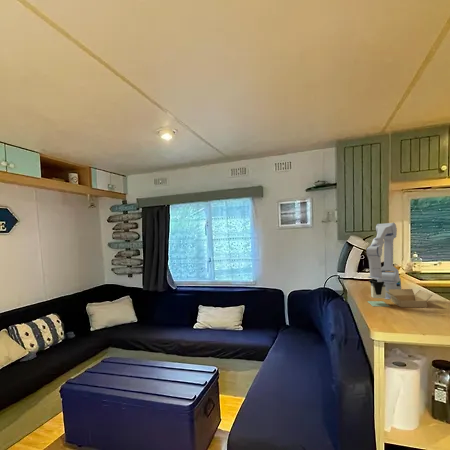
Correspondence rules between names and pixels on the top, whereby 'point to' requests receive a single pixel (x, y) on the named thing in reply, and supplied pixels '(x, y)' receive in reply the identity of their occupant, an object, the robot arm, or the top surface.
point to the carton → (409, 297)
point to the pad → (378, 303)
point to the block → (373, 293)
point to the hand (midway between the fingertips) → (377, 293)
